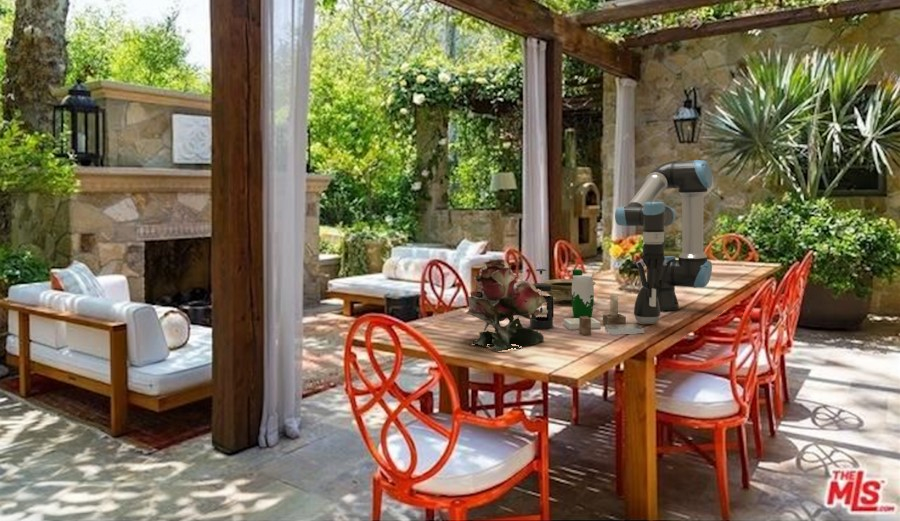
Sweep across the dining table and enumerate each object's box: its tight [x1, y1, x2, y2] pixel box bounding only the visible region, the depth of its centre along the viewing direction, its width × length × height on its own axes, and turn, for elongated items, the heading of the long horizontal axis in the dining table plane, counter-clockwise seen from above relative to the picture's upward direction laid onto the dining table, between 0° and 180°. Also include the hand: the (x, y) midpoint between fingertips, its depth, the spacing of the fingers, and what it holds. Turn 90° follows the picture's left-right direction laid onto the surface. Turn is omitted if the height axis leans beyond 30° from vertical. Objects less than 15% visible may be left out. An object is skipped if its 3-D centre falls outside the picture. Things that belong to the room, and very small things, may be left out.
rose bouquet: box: [466, 258, 547, 352], centre depth 245 cm, size 26×29×30 cm
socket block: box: [602, 313, 627, 326], centre depth 270 cm, size 7×7×4 cm
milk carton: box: [571, 269, 595, 319], centre depth 289 cm, size 9×9×20 cm
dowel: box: [609, 294, 619, 317], centre depth 270 cm, size 3×3×12 cm
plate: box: [604, 323, 645, 336], centre depth 258 cm, size 12×9×2 cm
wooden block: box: [578, 316, 592, 336], centre depth 257 cm, size 3×5×6 cm, turn 5°
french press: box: [528, 268, 554, 330], centre depth 270 cm, size 12×9×23 cm
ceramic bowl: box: [543, 278, 596, 305], centre depth 326 cm, size 30×24×10 cm
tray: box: [562, 317, 601, 331], centre depth 269 cm, size 12×10×2 cm
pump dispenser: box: [633, 286, 661, 325], centre depth 273 cm, size 10×10×15 cm
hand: (652, 305), depth 258 cm, fingers closed
